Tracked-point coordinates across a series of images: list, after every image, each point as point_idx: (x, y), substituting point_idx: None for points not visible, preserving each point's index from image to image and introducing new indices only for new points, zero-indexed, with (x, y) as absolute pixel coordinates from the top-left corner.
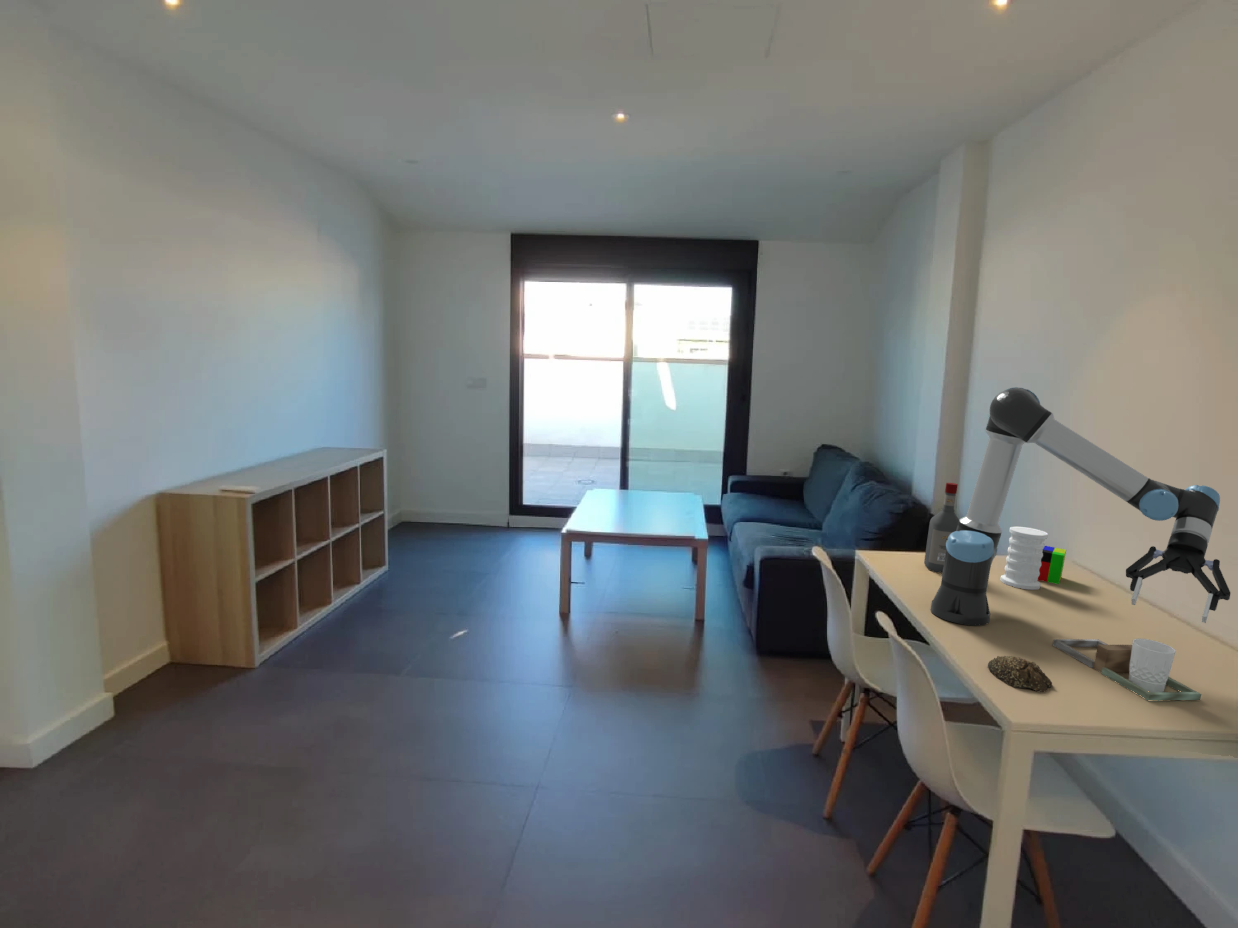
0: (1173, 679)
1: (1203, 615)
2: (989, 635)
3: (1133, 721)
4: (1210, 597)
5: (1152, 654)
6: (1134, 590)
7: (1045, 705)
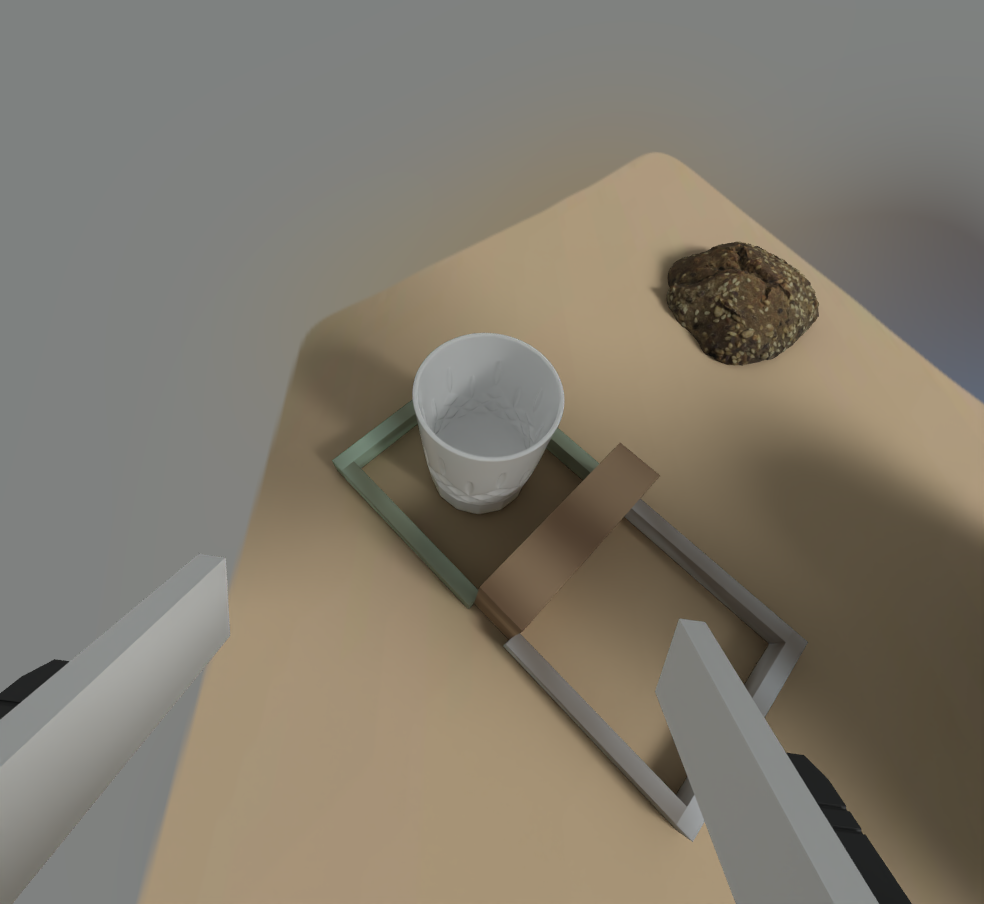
0: (401, 531)
1: (215, 559)
2: (950, 559)
3: (497, 248)
4: (6, 732)
5: (489, 344)
6: (745, 690)
7: (645, 219)
